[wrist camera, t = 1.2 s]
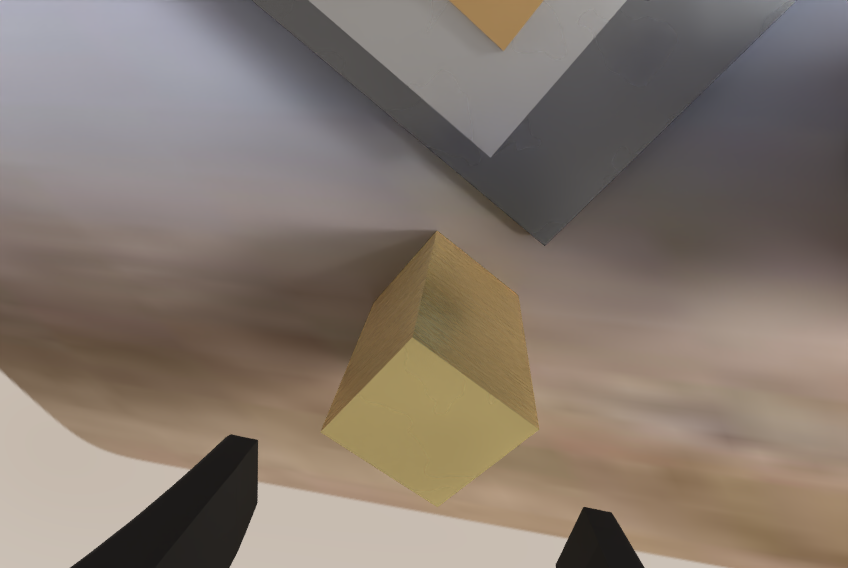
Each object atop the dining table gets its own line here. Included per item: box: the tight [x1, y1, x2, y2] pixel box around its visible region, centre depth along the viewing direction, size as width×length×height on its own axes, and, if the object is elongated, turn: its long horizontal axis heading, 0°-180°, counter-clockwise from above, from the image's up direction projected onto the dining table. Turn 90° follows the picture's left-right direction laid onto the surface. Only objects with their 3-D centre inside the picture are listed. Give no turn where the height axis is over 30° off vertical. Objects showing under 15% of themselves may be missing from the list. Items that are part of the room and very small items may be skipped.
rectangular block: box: [321, 231, 539, 507], centre depth 16 cm, size 4×4×8 cm
